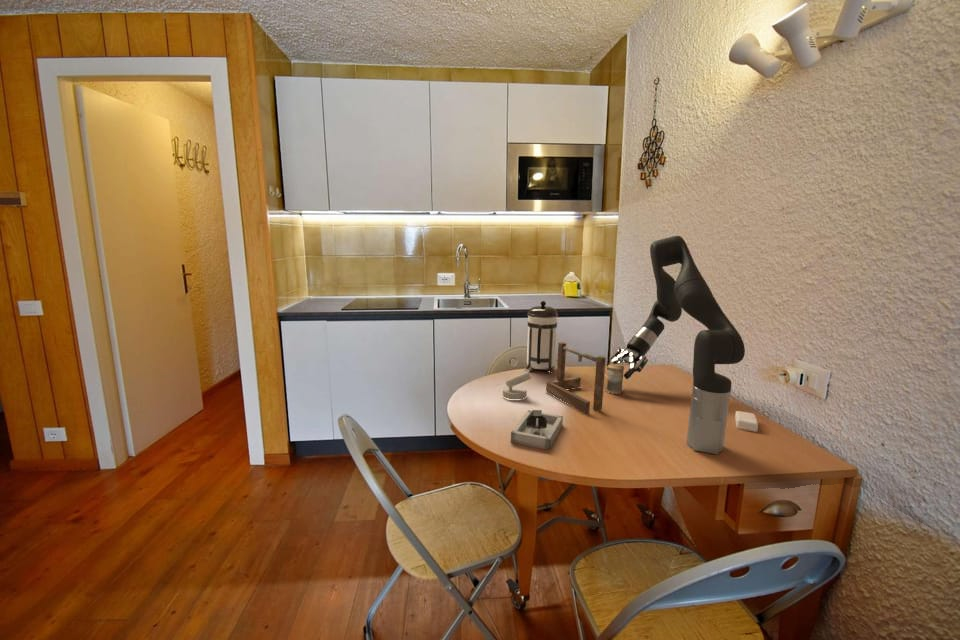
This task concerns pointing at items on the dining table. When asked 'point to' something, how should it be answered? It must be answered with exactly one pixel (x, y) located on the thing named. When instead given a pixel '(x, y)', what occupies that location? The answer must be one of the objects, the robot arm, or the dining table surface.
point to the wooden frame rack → (577, 381)
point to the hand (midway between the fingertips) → (616, 374)
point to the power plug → (536, 421)
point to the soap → (746, 421)
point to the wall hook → (513, 390)
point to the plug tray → (537, 431)
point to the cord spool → (615, 378)
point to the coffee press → (541, 337)
